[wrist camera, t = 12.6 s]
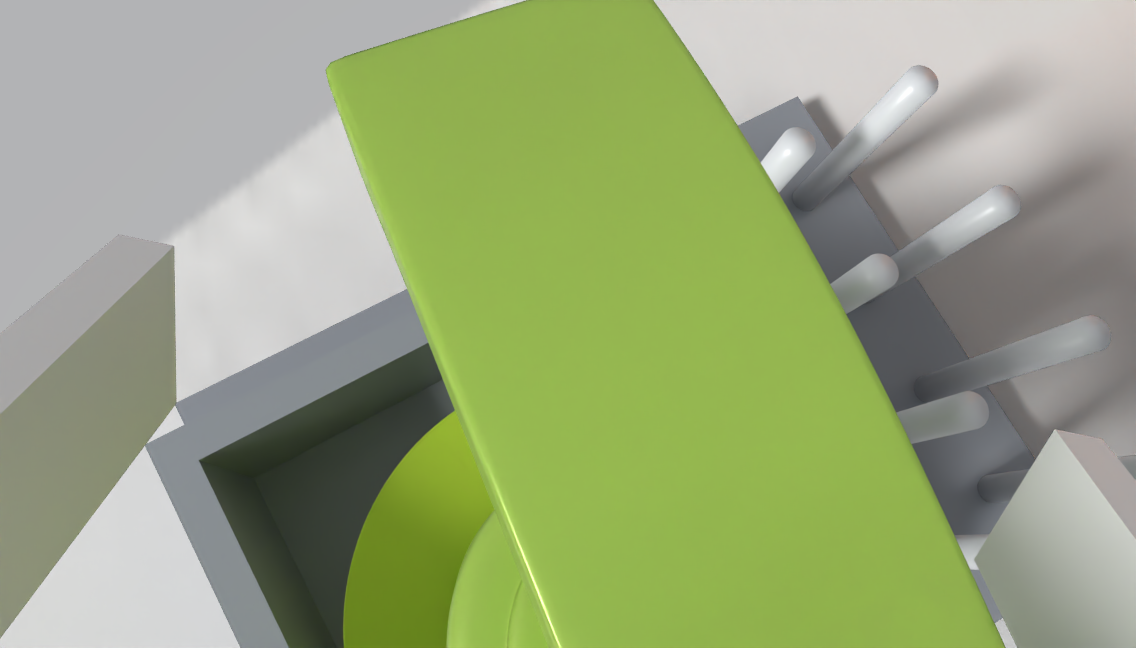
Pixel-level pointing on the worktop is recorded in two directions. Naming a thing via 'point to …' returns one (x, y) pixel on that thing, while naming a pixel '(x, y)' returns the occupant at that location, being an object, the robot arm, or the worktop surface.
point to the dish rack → (420, 401)
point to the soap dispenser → (624, 366)
